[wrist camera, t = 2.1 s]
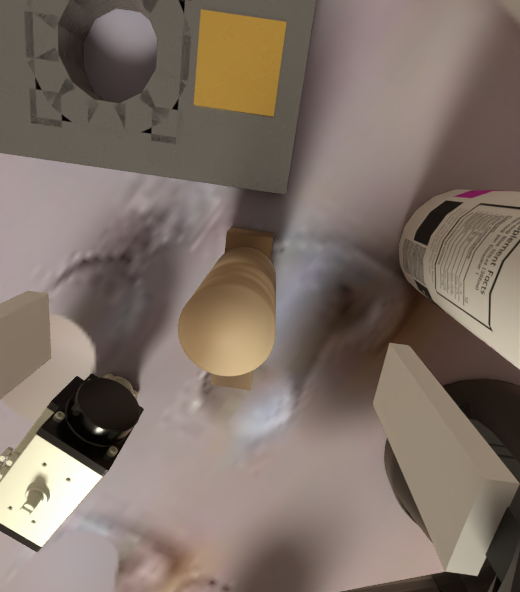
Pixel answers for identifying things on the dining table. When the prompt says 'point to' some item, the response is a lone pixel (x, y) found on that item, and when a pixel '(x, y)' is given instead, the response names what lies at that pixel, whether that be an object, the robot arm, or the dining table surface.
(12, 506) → the pneumatic valve
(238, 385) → the brown wooden bar
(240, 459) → the dining table surface
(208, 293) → the peg
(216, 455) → the dining table surface
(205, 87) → the flange board
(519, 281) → the supplement can
